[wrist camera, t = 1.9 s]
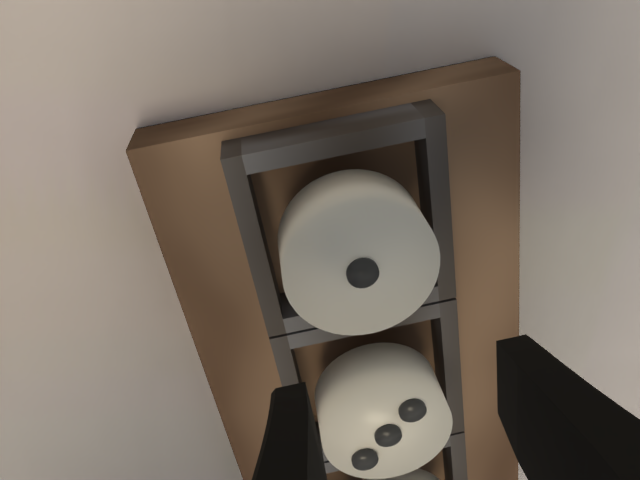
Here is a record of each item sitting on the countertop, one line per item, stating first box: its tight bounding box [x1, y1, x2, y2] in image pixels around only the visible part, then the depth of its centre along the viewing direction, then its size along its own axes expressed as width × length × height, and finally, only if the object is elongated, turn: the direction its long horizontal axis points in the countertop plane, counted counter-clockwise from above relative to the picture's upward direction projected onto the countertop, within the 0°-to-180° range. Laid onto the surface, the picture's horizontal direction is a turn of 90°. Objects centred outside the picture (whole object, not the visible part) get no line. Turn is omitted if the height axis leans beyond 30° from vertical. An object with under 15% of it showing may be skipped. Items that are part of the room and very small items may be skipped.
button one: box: [278, 169, 440, 335], centre depth 17 cm, size 4×4×2 cm
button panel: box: [126, 56, 520, 480], centre depth 23 cm, size 12×20×4 cm, turn 9°
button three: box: [315, 342, 453, 479], centre depth 20 cm, size 4×4×2 cm
